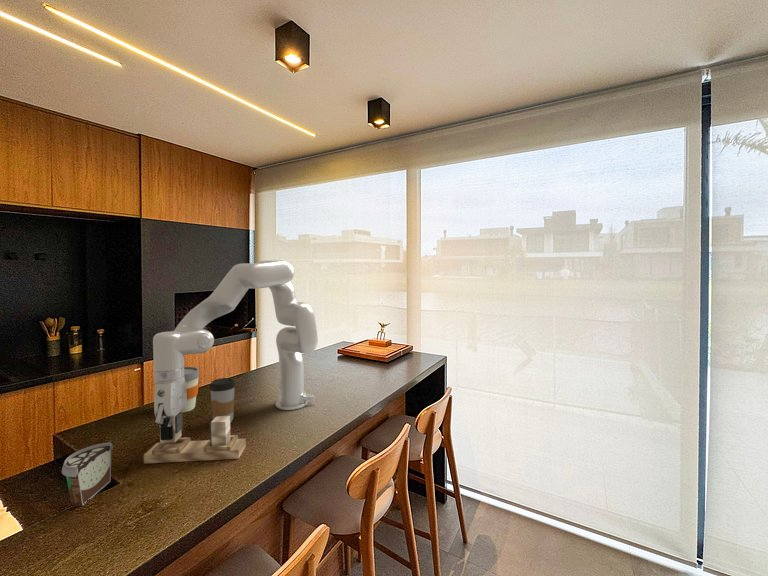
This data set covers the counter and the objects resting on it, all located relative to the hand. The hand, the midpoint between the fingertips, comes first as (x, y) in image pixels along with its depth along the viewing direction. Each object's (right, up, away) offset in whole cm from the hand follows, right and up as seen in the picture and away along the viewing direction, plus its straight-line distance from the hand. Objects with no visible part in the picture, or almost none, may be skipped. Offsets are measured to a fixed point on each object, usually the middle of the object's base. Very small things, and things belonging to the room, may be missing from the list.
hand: (171, 434), depth 102 cm
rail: (+7, -6, +1) cm, 10 cm away
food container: (-11, -8, -17) cm, 22 cm away
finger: (0, -1, 0) cm, 1 cm away
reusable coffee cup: (-17, -5, +35) cm, 39 cm away
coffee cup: (+5, -5, +23) cm, 24 cm away
